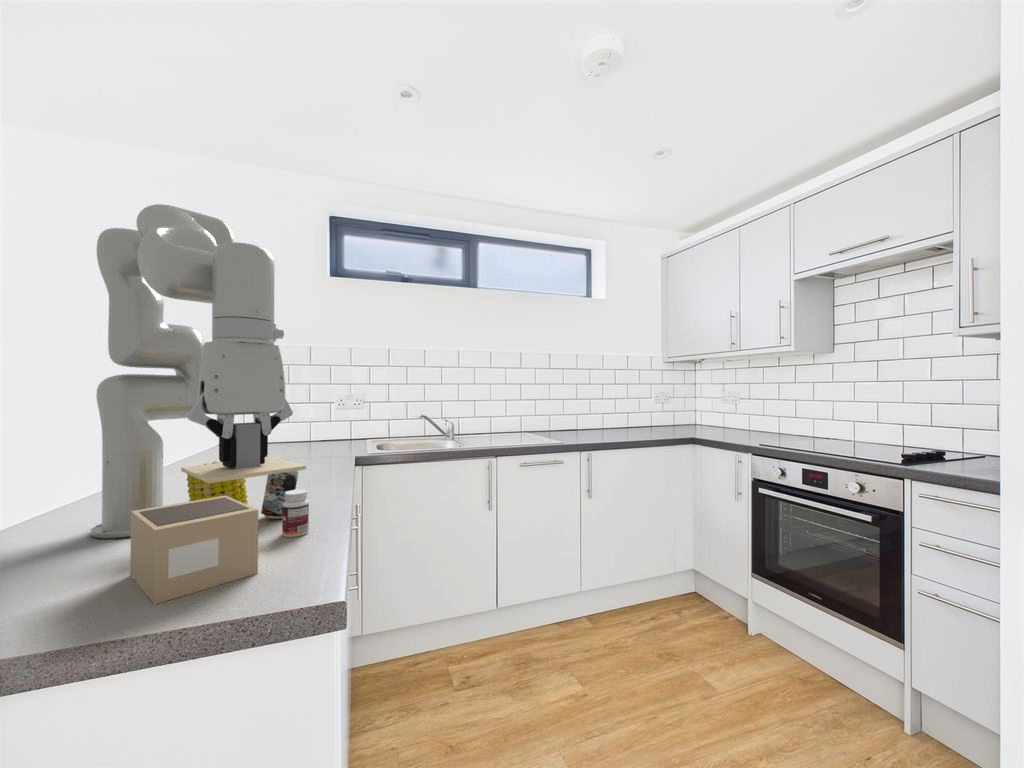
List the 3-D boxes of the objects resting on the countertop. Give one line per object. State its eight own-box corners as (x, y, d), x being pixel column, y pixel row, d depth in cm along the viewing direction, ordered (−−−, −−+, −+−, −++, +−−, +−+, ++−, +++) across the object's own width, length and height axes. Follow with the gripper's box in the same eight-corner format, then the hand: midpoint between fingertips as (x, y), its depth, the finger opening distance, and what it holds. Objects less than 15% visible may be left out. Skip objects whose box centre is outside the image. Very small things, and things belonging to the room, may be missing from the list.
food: (257, 538, 90) (200, 556, 82) (229, 516, 97) (174, 530, 88) (263, 468, 88) (205, 479, 80) (234, 449, 94) (178, 458, 86)
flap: (181, 471, 61) (181, 423, 61) (272, 460, 71) (273, 419, 70) (208, 483, 54) (209, 430, 54) (306, 469, 64) (306, 423, 64)
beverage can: (257, 517, 100) (258, 463, 100) (292, 510, 105) (293, 460, 105) (265, 523, 95) (266, 467, 95) (301, 516, 100) (302, 463, 100)
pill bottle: (283, 531, 90) (283, 490, 90) (309, 528, 92) (309, 488, 92) (280, 539, 86) (281, 495, 86) (308, 536, 88) (308, 493, 88)
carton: (130, 575, 69) (130, 510, 69) (225, 551, 79) (225, 494, 79) (154, 604, 60) (155, 529, 60) (258, 573, 70) (258, 509, 70)
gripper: (290, 341, 72) (290, 455, 71) (165, 331, 59) (164, 470, 59) (313, 337, 67) (313, 460, 67) (182, 325, 54) (181, 477, 54)
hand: (243, 463), depth 63 cm, fingers closed on flap, 3 cm apart
